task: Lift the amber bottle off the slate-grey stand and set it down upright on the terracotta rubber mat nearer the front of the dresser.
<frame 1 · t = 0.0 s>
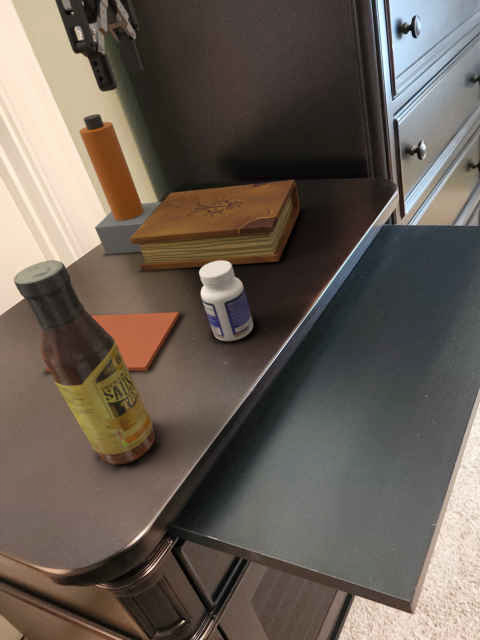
hand: (123, 81, 69), 26 cm above the table, tool pointing down, fingers open, 8 cm apart
mat: (116, 342, 70), on the table
diary: (225, 240, 89), on the table
amber bottle: (129, 214, 91), point 5 cm above the table, touching grey stand
pill bottle: (234, 331, 67), on the table
grey stand: (139, 241, 94), on the table
sauce bottle: (130, 445, 55), on the table
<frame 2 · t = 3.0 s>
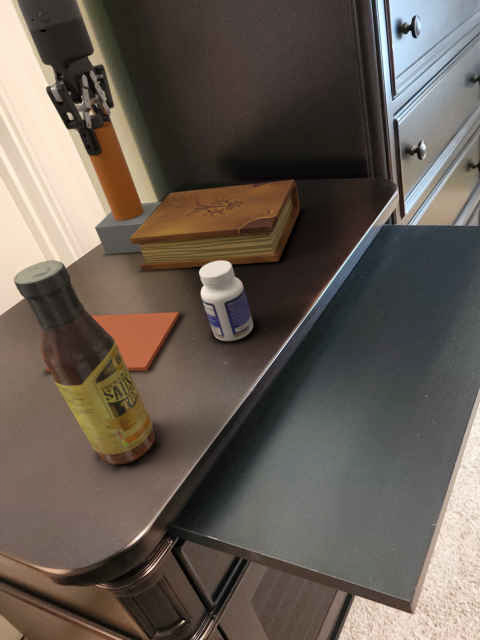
hand: (103, 147, 84), 16 cm above the table, tool pointing down, fingers closed on amber bottle, 5 cm apart
amber bottle: (129, 214, 91), point 5 cm above the table, touching grey stand, gripper
everything else where it was.
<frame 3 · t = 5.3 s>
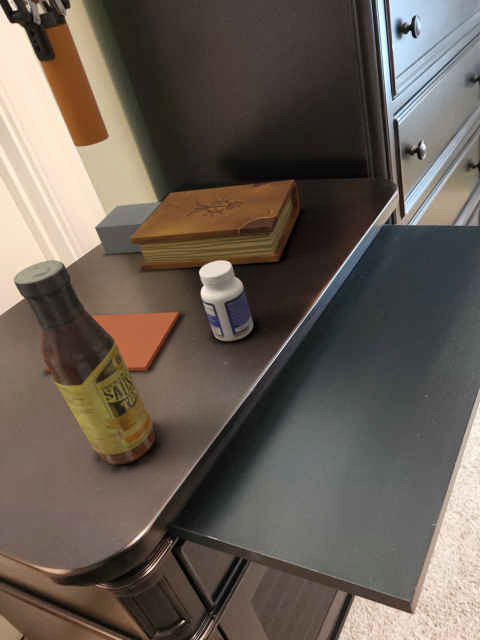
hand: (58, 55, 71), 29 cm above the table, tool pointing down, fingers closed on amber bottle, 5 cm apart
amber bottle: (91, 140, 78), point 18 cm above the table, touching gripper
everything else where it was.
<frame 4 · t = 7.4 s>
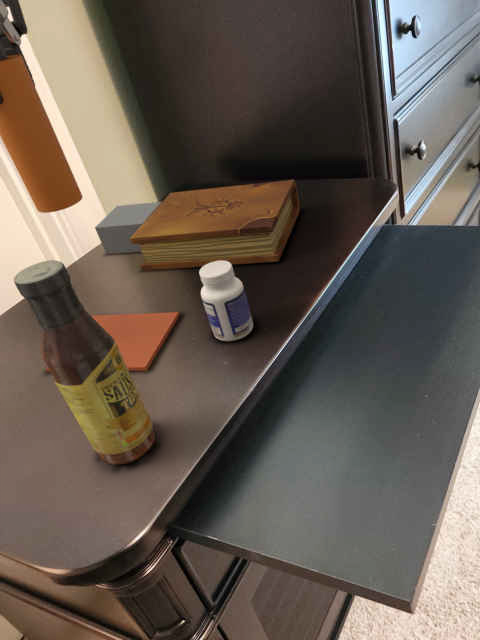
hand: (10, 96, 53), 29 cm above the table, tool pointing down, fingers closed on amber bottle, 5 cm apart
amber bottle: (60, 203, 60), point 18 cm above the table, touching gripper
everything else where it was.
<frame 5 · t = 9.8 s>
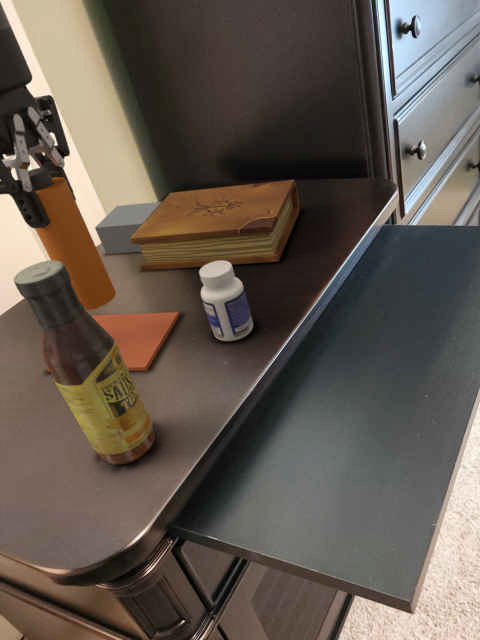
hand: (54, 214, 58), 18 cm above the table, tool pointing down, fingers closed on amber bottle, 5 cm apart
amber bottle: (95, 298, 65), point 7 cm above the table, touching gripper
everything else where it was.
when the fingers open (12 cm above the table, at t = 11.7 s): amber bottle stays where it is, resting on mat.
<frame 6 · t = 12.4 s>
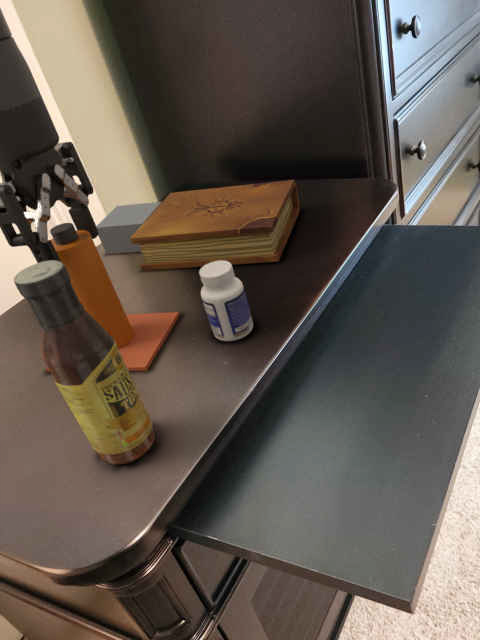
hand: (74, 254, 61), 13 cm above the table, tool pointing down, fingers open, 8 cm apart
amber bottle: (114, 339, 69), point 1 cm above the table, touching mat
everything else where it was.
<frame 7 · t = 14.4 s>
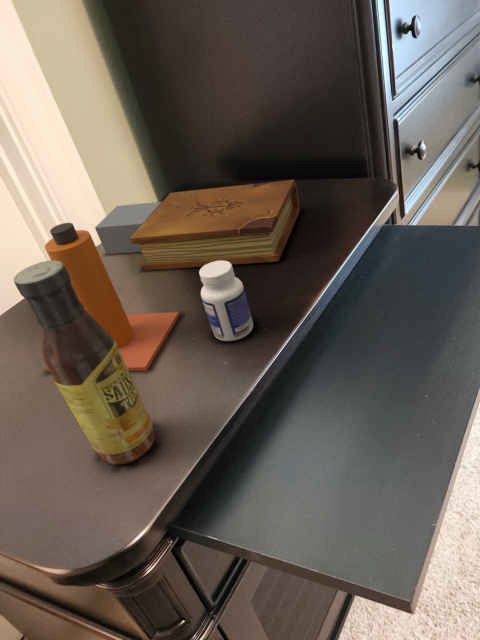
nothing on the table moved.
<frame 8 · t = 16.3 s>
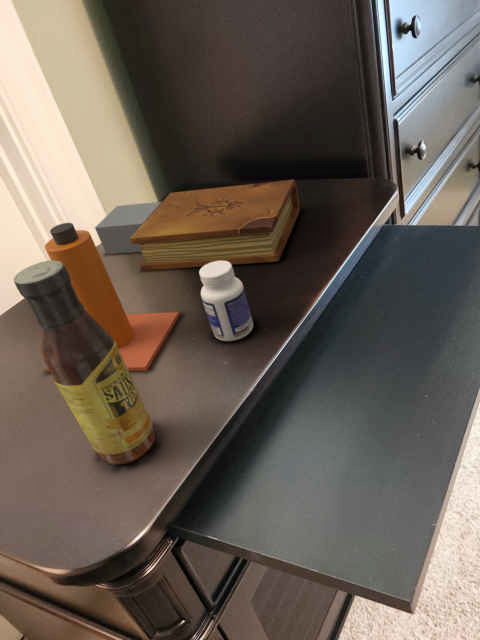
nothing on the table moved.
at the end: amber bottle inside the target area on the mat (0.0 cm from its centre), point 0.6 cm above the mat's base; amber bottle tilted 0°; amber bottle touching mat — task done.
